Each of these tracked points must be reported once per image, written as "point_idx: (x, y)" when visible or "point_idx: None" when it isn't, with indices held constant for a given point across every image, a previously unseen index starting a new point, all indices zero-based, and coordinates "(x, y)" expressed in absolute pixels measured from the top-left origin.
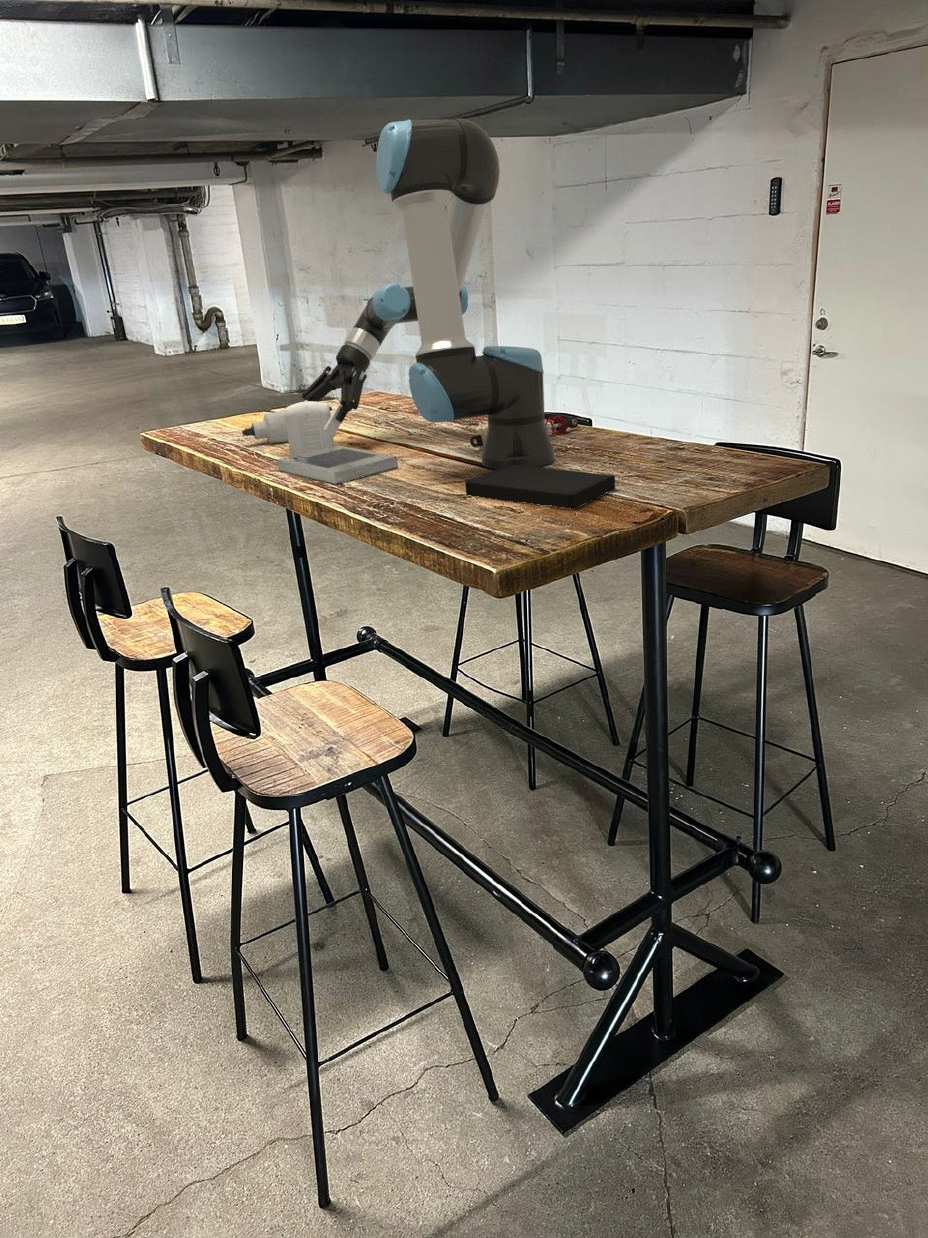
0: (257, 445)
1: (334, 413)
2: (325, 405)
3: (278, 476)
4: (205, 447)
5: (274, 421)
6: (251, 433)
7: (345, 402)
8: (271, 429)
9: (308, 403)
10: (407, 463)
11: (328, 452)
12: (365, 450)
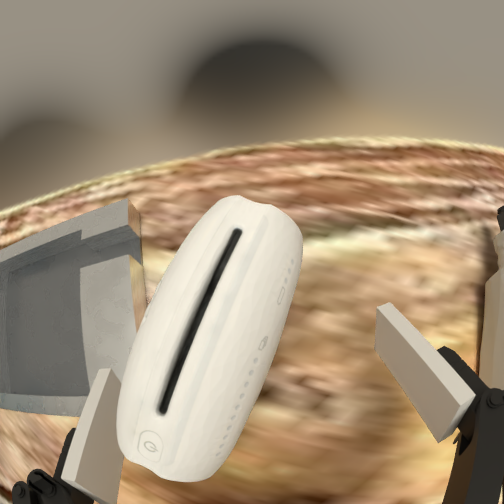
0: (487, 253)
1: (75, 434)
2: (122, 445)
3: (99, 204)
4: (498, 171)
5: None
6: (501, 227)
7: (43, 495)
8: (500, 273)
9: (146, 336)
10: (9, 439)
11: (83, 339)
12: (38, 413)
